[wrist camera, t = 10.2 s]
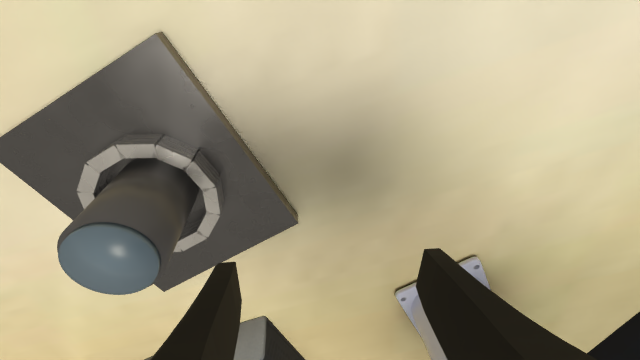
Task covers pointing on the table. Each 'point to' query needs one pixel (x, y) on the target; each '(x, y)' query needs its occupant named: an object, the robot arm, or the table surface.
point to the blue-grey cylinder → (129, 228)
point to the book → (621, 343)
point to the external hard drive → (262, 342)
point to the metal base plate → (151, 154)
